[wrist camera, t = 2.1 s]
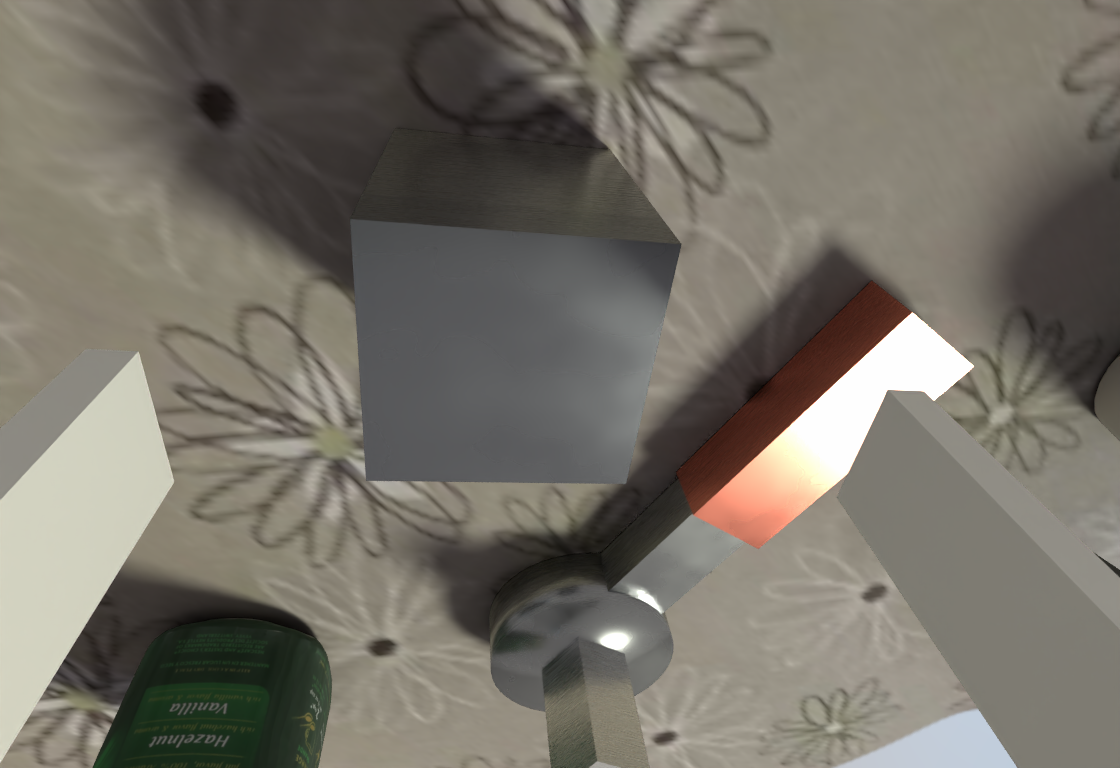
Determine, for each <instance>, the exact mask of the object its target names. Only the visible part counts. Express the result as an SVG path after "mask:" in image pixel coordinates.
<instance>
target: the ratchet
mask: <svg viewBox="0 0 1120 768" xmlns="http://www.w3.org/2000/svg"><path fill="white" fill-rule="evenodd" d="M973 367H974V366H973V365H972V364H971V363H970V362H968V361H967V360H966V359H965V358H964V357H963V356H962V355H960V354H959V353H958V352H957V351H956V350H955V349H954V348H952V347H951V346H950V345H949V344H948V343H947V342H946V341H944V340H943V339H942V338H941V337H940V336H939V335H938V334H936V333H935V332H934V331H933V330H932V329H931V328H929V327H928V326H927V325H926V324H925V323H924V322H923V321H921V320H920V319H919V318H918V317H917V316H916V315H915V314H913V313H912V312H911V311H910V310H908V309H907V308H906V307H905V306H903V305H902V304H901V303H900V302H898V301H897V300H896V299H894V298H893V297H892V296H891V295H889V294H888V293H887V292H886V291H884V290H883V289H882V288H880V287H879V286H878V285H877V284H875V283H874V282H873V281H871V282H870V283H869V284H868V285H867V286H866V287H865V288H864V289H863V290H862V291H861V292H860V293H859V294H858V295H857V296H856V297H855V298H854V299H852V300H851V301H850V302H849V303H848V304H847V305H846V306H845V307H844V308H843V309H842V310H841V311H840V312H839V313H838V314H837V315H836V316H835V317H834V318H833V319H832V320H831V321H830V322H829V323H828V324H827V325H826V326H825V327H824V328H823V329H822V330H821V331H820V332H819V333H818V334H817V335H816V336H815V337H814V338H813V339H812V340H811V341H810V342H809V343H808V344H807V345H805V346H804V347H803V348H802V349H801V350H800V351H799V352H798V353H797V354H796V355H795V356H794V357H793V358H792V359H791V360H790V361H789V362H788V363H787V364H786V365H785V366H784V367H783V368H782V369H781V370H780V371H779V372H778V373H777V374H776V375H775V376H774V377H773V378H772V379H771V380H770V381H769V382H768V383H767V384H766V385H765V386H764V387H763V388H762V389H761V390H760V391H758V392H757V393H756V394H755V395H754V396H753V397H752V398H751V399H750V400H749V401H748V402H747V403H746V404H745V405H744V406H743V407H742V408H741V409H740V410H739V411H738V412H737V413H736V414H735V415H734V416H733V417H732V418H731V419H730V420H729V421H728V422H727V423H726V424H725V425H724V426H723V427H722V428H721V429H720V430H719V431H718V432H717V433H716V434H715V435H714V436H713V437H711V438H710V439H709V440H708V441H707V442H706V443H705V444H704V445H703V446H702V447H701V448H700V449H699V450H698V451H697V452H696V453H695V454H694V455H693V456H692V457H691V458H690V459H689V460H688V461H687V462H686V463H685V464H684V465H683V466H682V467H681V468H680V469H679V470H678V471H677V472H676V474H677V476H678V479H677V480H676V481H675V482H674V483H673V484H672V485H671V486H670V487H669V488H668V489H667V490H666V491H665V492H664V493H662V494H661V495H660V496H659V497H658V498H657V499H656V500H655V501H654V502H653V503H652V504H651V505H650V506H649V507H648V508H647V509H646V510H645V511H644V512H643V513H642V514H641V515H640V516H639V517H638V518H637V519H636V520H635V521H634V522H633V523H632V524H631V525H630V526H629V527H627V528H626V529H625V530H624V531H623V532H622V533H621V534H620V535H619V536H618V537H617V538H616V539H615V540H614V541H613V542H612V543H611V544H610V545H609V546H608V547H607V548H606V549H605V550H604V551H603V552H602V553H601V554H574V555H567V556H561V557H557V558H553V559H550V560H547V561H544V562H541V563H538V564H536V565H534V566H532V567H529V568H528V569H526V570H524V571H522V572H521V573H519V574H518V575H516V576H515V577H514V578H512V579H511V580H510V581H509V582H508V583H507V584H505V585H504V587H503V588H502V589H501V590H500V591H499V593H498V594H497V596H496V597H495V599H494V601H493V604H492V606H491V610H490V654H491V674H492V679H493V681H494V683H495V685H496V686H497V688H498V689H499V690H500V692H502V693H503V694H504V695H505V696H506V697H507V698H509V699H510V700H512V701H514V702H516V703H518V704H520V705H522V706H525V707H528V708H530V709H535V710H539V711H545V712H546V721H547V731H548V741H549V752H550V762H551V768H650V766H649V762H648V757H647V753H646V748H645V744H644V739H643V735H642V730H641V726H640V721H639V716H638V712H637V707H636V703H635V698H634V696H636V695H637V694H639V693H641V692H642V691H644V690H645V689H647V688H648V687H649V686H651V685H652V684H653V683H654V682H655V681H656V680H658V678H659V677H660V676H661V675H662V674H663V673H664V671H665V670H666V668H667V667H668V665H669V663H670V661H671V658H672V654H673V639H672V635H671V632H670V629H669V625H668V622H667V618H666V615H665V611H666V610H667V609H668V608H669V607H670V606H672V605H673V604H674V603H675V602H676V601H677V600H679V599H680V598H681V597H682V596H683V595H684V594H686V593H687V592H688V591H689V590H690V589H691V588H693V587H694V586H695V585H696V584H697V583H698V582H700V581H701V580H702V579H703V578H704V577H705V576H706V575H708V574H709V573H710V572H711V571H712V570H713V569H715V568H716V567H717V566H718V565H719V564H720V563H722V562H723V561H724V560H725V559H726V558H727V557H729V556H730V555H731V554H732V553H733V552H734V551H736V550H737V549H738V548H739V547H740V546H741V545H743V544H744V543H745V542H746V543H748V544H750V545H752V546H754V547H756V548H758V549H759V548H760V547H761V546H762V545H763V544H765V543H766V542H767V541H768V540H769V539H771V538H772V537H773V536H774V535H775V534H776V533H778V532H779V531H780V530H781V529H782V528H784V527H785V526H786V525H787V524H788V523H789V522H791V521H792V520H793V519H794V518H795V517H797V516H798V515H799V514H800V513H801V512H802V511H804V510H805V509H806V508H807V507H808V506H810V505H811V504H812V503H813V502H814V501H816V500H817V499H818V498H819V497H820V496H821V495H823V494H824V493H825V492H826V491H827V490H829V489H830V488H831V487H832V486H833V485H834V484H836V483H837V482H838V481H839V480H840V479H842V478H843V477H844V476H845V475H846V474H847V473H848V472H849V470H850V468H851V466H852V464H853V461H854V459H855V457H856V455H857V453H858V451H859V449H860V447H861V444H862V442H863V440H864V438H865V436H866V434H867V432H868V430H869V428H870V425H871V423H872V421H873V419H874V417H875V415H876V413H877V411H878V408H879V406H880V404H881V402H882V400H883V398H884V396H885V394H886V391H887V389H892V390H912V391H924V392H925V393H927V394H928V395H929V396H930V397H931V398H932V399H933V400H935V399H936V398H937V397H939V396H940V395H941V394H942V393H943V392H944V391H946V390H947V389H948V388H949V387H950V386H952V385H953V384H954V383H955V382H956V381H958V380H959V379H960V378H961V377H962V376H963V375H965V374H966V373H967V372H968V371H969V370H971V369H972V368H973Z"/></svg>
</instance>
